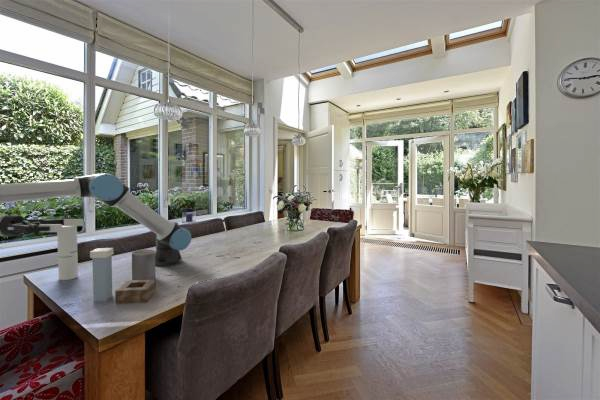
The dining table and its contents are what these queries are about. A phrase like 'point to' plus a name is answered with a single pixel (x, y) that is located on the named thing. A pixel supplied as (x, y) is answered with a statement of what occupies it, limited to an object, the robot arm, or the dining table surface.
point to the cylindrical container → (67, 253)
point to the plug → (102, 273)
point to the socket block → (135, 291)
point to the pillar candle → (143, 265)
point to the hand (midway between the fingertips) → (73, 225)
